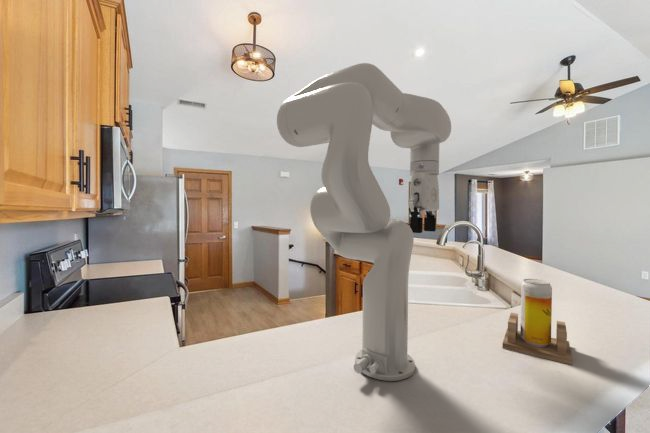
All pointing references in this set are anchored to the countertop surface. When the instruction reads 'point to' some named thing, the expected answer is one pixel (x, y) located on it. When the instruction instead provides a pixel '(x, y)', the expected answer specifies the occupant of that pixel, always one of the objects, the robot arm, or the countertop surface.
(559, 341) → the holder
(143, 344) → the countertop surface
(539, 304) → the beer can
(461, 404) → the countertop surface
